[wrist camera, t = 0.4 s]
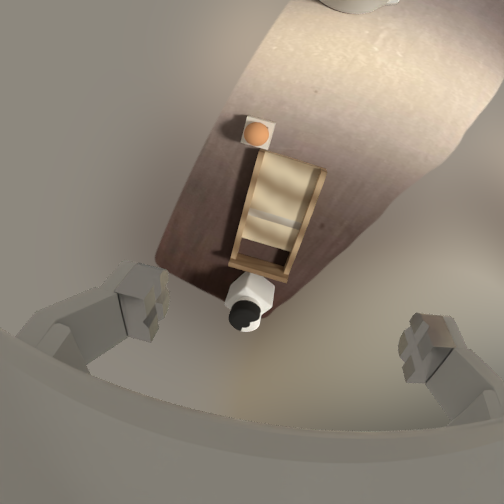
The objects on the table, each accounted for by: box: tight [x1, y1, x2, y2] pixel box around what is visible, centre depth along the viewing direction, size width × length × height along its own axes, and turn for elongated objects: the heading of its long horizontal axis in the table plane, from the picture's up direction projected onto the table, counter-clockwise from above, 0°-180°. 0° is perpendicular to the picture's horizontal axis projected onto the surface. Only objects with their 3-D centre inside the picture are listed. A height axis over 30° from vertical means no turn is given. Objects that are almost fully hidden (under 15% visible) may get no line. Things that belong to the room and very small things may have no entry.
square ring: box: [240, 115, 276, 150], centre depth 46 cm, size 5×5×2 cm
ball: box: [244, 122, 269, 146], centre depth 44 cm, size 4×4×4 cm
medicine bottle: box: [224, 271, 275, 332], centre depth 59 cm, size 7×7×12 cm
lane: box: [228, 149, 327, 283], centre depth 54 cm, size 23×12×4 cm, turn 166°
